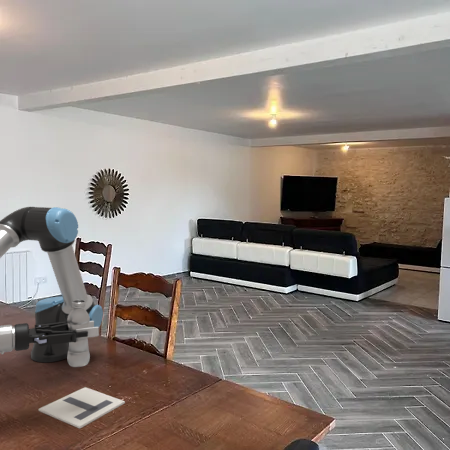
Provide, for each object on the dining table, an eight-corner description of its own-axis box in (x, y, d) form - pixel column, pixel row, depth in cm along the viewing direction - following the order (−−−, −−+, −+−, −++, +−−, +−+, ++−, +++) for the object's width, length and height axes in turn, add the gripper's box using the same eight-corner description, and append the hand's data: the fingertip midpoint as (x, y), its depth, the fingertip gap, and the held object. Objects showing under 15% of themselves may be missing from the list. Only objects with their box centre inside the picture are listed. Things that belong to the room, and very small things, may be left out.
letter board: (85, 388, 150) (85, 387, 150) (124, 403, 140) (124, 401, 140) (38, 410, 134) (38, 408, 134) (79, 428, 125) (79, 426, 125)
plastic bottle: (82, 370, 132) (83, 304, 131) (62, 368, 134) (62, 302, 132) (93, 362, 139) (94, 299, 137) (74, 360, 140) (74, 297, 138)
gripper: (12, 340, 136) (89, 331, 146) (15, 362, 119) (102, 350, 130) (11, 316, 135) (89, 308, 146) (15, 334, 118) (103, 324, 129)
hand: (95, 328), depth 138 cm, fingers closed on plastic bottle, 6 cm apart
